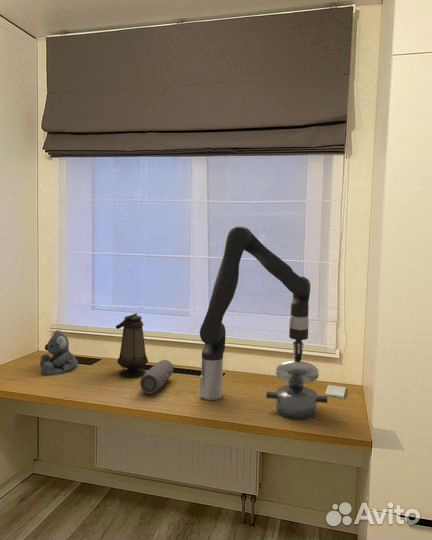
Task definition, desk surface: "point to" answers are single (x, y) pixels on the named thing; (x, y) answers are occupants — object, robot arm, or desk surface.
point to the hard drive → (335, 391)
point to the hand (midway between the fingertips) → (297, 368)
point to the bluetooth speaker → (156, 376)
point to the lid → (297, 372)
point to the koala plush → (57, 356)
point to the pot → (296, 402)
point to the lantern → (132, 347)
